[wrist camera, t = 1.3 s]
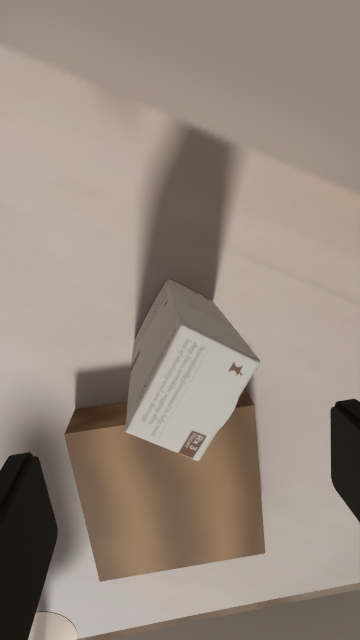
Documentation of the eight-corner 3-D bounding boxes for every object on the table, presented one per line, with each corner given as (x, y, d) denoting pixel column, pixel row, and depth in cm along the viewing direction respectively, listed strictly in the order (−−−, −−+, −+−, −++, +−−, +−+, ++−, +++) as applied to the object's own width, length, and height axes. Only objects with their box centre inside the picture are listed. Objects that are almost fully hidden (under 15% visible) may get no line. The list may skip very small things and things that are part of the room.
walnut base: (240, 382, 29) (254, 405, 25) (252, 515, 33) (265, 553, 29) (76, 406, 29) (64, 434, 25) (106, 539, 32) (99, 581, 28)
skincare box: (166, 276, 26) (177, 313, 14) (217, 302, 27) (267, 357, 15) (130, 345, 27) (114, 432, 16) (180, 368, 28) (201, 467, 16)
